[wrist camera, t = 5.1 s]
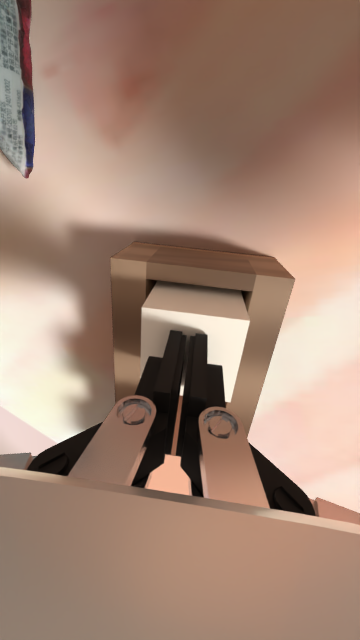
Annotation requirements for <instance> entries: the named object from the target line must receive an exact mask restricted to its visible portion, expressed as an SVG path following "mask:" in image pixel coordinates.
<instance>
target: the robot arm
mask: <svg viewBox="0 0 360 640" xmlns="http://www.w3.org/2000/svg"><path fill="white" fill-rule="evenodd" d="M186 337H187V335H182V331H175V330H170V333H169V337H168V340H167V344H166V348H165V351H164V355H163V358H161V357H154V356H149V357H148V359H147V362H146V365H145V367H144V370H143V373H142V376H141V378H140V381H139V384H138V386H137V389H136V392H135V395H134V396H128V397H125V398H123V399H121V400H119V401H118V402H117V403H116V404H115V405H114V407H113V408H112V410H111V411H110V413H109V414H108V416H107V417H106V419H105V420H104V422H102V423H100V424H98V425H95V426H93V427H91V428H89V429H87V430H85V431H83V432H81V433H79V434H77V435H75V436H73V437H71V438H69V439H67V440H65V441H63V442H61V443H58V444H57V445H55V446H52V447H50V448H48V449H47V450H45V451H43V452H42V453H40V454H39V455H38V456H31V453H20V454H4V455H0V640H360V513H357V512H355V511H352V510H349V509H347V508H344V507H341V506H339V505H336V504H334V503H331V502H328V501H326V500H323V499H320V498H318V497H317V498H316V499H315V500H312V499H310V498H308V496H307V495H306V494H305V493H304V492H303V491H302V490H301V489H300V488H299V487H298V486H297V485H296V484H295V483H294V482H293V481H292V480H290V479H289V478H288V477H287V476H286V475H285V474H284V473H283V472H281V471H280V470H279V469H278V468H277V467H276V466H275V465H274V464H272V463H271V462H270V461H269V460H268V459H267V458H266V457H265V456H263V455H262V454H261V453H260V452H259V451H258V450H257V449H256V448H254V447H253V446H252V445H251V444H250V443H249V442H248V439H247V436H246V433H245V430H244V427H243V424H242V422H241V420H240V418H239V417H238V416H237V415H236V414H235V413H233V412H232V411H230V410H228V409H226V404H225V392H224V379H223V368H222V365H214V364H207V356H208V335H206V334H199V333H196V334H195V336H190V344H189V351H188V359H187V367H186V375H185V383H184V391H183V399H182V407H181V415H180V423H179V431H178V439H177V448H176V456H180V457H181V462H180V466H181V468H182V469H183V471H184V472H185V473H186V474H187V476H188V477H189V481H188V487H189V495H183V494H177V493H171V492H165V491H158V490H152V489H148V486H149V483H150V480H151V477H152V472H153V470H155V469H156V468H158V467H159V466H161V465H162V464H164V460H165V454H166V455H171V451H172V444H173V437H174V430H175V423H176V416H177V410H178V403H179V396H180V389H181V381H182V372H183V363H184V355H185V346H186Z"/></svg>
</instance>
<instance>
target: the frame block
mask: <svg viewBox="0 0 360 640" xmlns="http://www.w3.org/2000/svg"><path fill="white" fill-rule="evenodd" d="M110 265H111V293H112V320H113V347H114V374H115V402H116V403H117V402H118V401H119V400H121V399H123V398H125V397H128V396H134V395H135V392H136V389H137V386H138V384H139V381H140V362H141V315H142V306H143V304H144V303H145V301H146V299H147V298H148V296H149V294H150V293H151V291H152V289H153V288H154V286H155V284H156V282H157V281H158V280H160V281H168V282H177V283H185V284H194V285H202V286H210V287H219V288H227V289H236V290H241V294H242V297H243V300H244V303H245V306H246V310H247V313H248V316H249V319H250V323H249V327H248V331H247V335H246V340H245V344H244V348H243V352H242V356H241V361H240V365H239V369H238V373H237V377H236V381H235V386H234V390H233V394H232V398H231V402H225V404H226V409H228V410H230V411H232V412H233V413H235V414H236V415H237V416H238V417H239V418H240V420H241V422H242V424H243V427H244V430H245V433H246V436H248V433H249V430H250V426H251V423H252V420H253V417H254V413H255V410H256V407H257V403H258V400H259V397H260V394H261V390H262V387H263V384H264V380H265V377H266V374H267V371H268V367H269V364H270V361H271V357H272V354H273V351H274V348H275V344H276V341H277V338H278V334H279V331H280V328H281V325H282V321H283V318H284V315H285V311H286V308H287V305H288V302H289V298H290V295H291V292H292V288H293V285H294V282H295V278H294V277H293V276H292V275H291V274H290V273H289V272H288V271H287V270H286V269H285V268H284V267H283V266H282V265H281V264H280V263H279V262H278V261H277V259H276V258H274V257H265V256H256V255H247V254H238V253H229V252H220V251H211V250H202V249H193V248H184V247H175V246H166V245H157V244H148V243H139V242H133V243H132V244H131V245H129V246H128V247H126V248H125V249H123V250H122V251H120V252H118V253H117V254H115V255H114V256H112V257H111V258H110Z"/></svg>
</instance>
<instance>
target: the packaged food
mask: <svg viewBox="0 0 360 640" xmlns="http://www.w3.org/2000/svg"><path fill="white" fill-rule="evenodd" d="M30 23H31V0H0V149H1V150H2V152H3V153H4V154H5V156H6V157H7V158H8V159H9V161H10V162H11V163H12V164H13V165H14V166H15V167H16V168H17V169H18V170H19V171H20V172H21V174H22V175H23V177H25V178H26V179H27V178H28V177H29V174H30V173H31V171H32V169H33V155H34V146H35V126H34V97H33V87H32V62H31V48H30V44H29V31H30Z"/></svg>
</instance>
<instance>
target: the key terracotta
mask: <svg viewBox="0 0 360 640" xmlns="http://www.w3.org/2000/svg"><path fill="white" fill-rule="evenodd" d="M182 399H183V396H181V395H180V396H179V403H178V410H177V416H176V423H175V430H174V437H173V444H172V451H171V455H166V454H165V460H164V464H162V465H161V466H159V467H158V468H156V469H155V470H153V472H152V477H151V480H150V483H149V486H148V489H152V490H158V491H165V492H171V493H177V494H183V495H189V487H188V481H189V477H188V476H187V474H186V473H185V472H184V471H183V469H182V468H181V466H180V462H181V457H180V456H176V448H177V439H178V431H179V423H180V415H181V407H182Z"/></svg>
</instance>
